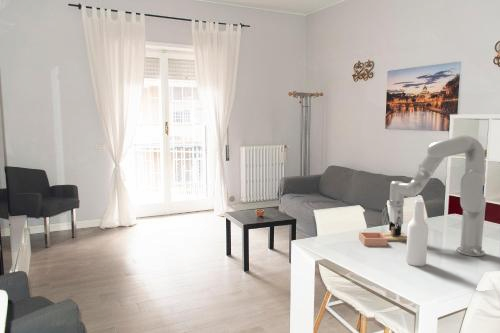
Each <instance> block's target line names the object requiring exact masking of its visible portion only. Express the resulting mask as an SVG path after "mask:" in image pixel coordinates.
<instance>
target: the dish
mask: <svg viewBox="0 0 500 333" xmlns="http://www.w3.org/2000/svg"><path fill="white" fill-rule="evenodd" d="M382 233H383V232H377V231H376V232H372V231H369V232H368V231H367V232H366V231H360V232H358V240H359V241H360V242H361V244H362V245H363V246H364V247H366V246H367V247H368V246H369V247H374V246H375V247H388V242H387V238H386V237H385V236H384V235H383V234H382Z"/></svg>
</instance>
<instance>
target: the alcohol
mask: <svg viewBox="0 0 500 333" xmlns="http://www.w3.org/2000/svg"><path fill="white" fill-rule="evenodd" d="M424 203H425V201H424V200H421V199H416V200H414V208H413V213H412V214H413V215H412V219H411V220H410V221H409V222H408V225H407V233H406V236H407V242H406V253H405V254H406V255H405V261H406V263H407V264H408V265H410V266H413V267H425V265H426V264H427V256H428V255H427V253H428V236H429V226H428V223H427V222H426V221H425V219H424V218H425V211H424V205H425V204H424Z"/></svg>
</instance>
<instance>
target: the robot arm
mask: <svg viewBox="0 0 500 333" xmlns="http://www.w3.org/2000/svg"><path fill="white" fill-rule="evenodd" d="M461 154H464V155H465V162H464V163H465V168H464V174H463V175H462V176H461V178H460V186H459V187H460V191H459V192H460V194H459V196H460V197H459V204H460V207H461V209H462V217H461V231H460V244H459V245H460V246H458V247H456V252H458V253H460V254H462V255H466V256H468V257H469V256H470V257H483V256H485V255H486V251H484V250H483V249H482V248H483V247H482V246H483V235H484V223H485V213H486V212H485V211H486V206H487V200H486V197H485V195H484V192H483V191H484V185H485V182H486V172H485V171H486V162H485V160H486V156H485V149H484V147H483V144H482V143H481V142H480V141H479V140H477V139H476V138H474V137H472V136H469V135H459V136H455V137H451V138H447V139H443V140H438V141H434V142H432V143H430V144H429V145H428V146H427V151H426V154H425V155H424V156H423V157H422V159H421V160H420V162H419V164H418V170H417V171H416V174H415V175H414V177H413V178H412V179H411V181H410V182H408V183H407V182H404V181H399V180H393V181H391V182H390V185H389V187H390V189H389V202H388V203H389V204H388V206H389V207H390V208H389V217H388V218H389V219H388V220H389V226H388V230H389V231H390V232H391V227H396V228H395V235H396V236H400V235H401V233H402V227H403V226H402V225H404V205H405V204H404V203H405V202H404V201H405V197H407V198H408V197H409V198H412V197H415V196H416V195H419V194H420V193H421V192H422V191H423V189H424V188H425V187H426V185H427V184H428V182H429V181H430V180H431V178H432V176H433V175H434V173H435V172H436V170H437V168H438V167H439V166H440V164H441V163H442V162H443V161H444V159H445V158H447V157H452V156H456V155H461Z"/></svg>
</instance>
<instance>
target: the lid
mask: <svg viewBox="0 0 500 333" xmlns="http://www.w3.org/2000/svg"><path fill="white" fill-rule="evenodd" d="M395 228H396V226H395V227H391V231H390V232H381V233H382V234H383V235H384V236H385V237H386V238H387V241H388V242H387V243H407V234H405V233H404V232H401V235H400V236H396V235H395Z"/></svg>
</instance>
